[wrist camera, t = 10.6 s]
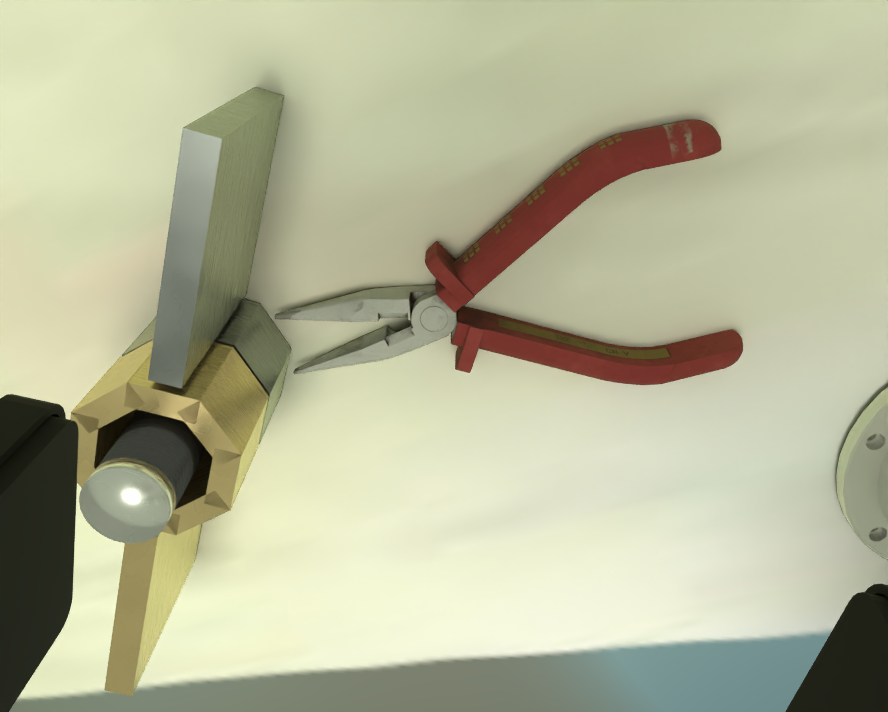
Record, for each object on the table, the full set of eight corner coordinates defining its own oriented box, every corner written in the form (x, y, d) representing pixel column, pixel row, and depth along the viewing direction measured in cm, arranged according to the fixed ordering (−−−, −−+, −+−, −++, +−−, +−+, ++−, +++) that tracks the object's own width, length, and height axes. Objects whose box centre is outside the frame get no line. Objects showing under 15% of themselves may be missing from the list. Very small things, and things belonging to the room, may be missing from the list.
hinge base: (344, 113, 33) (302, 162, 25) (274, 425, 40) (222, 546, 32) (193, 68, 33) (100, 103, 24) (147, 393, 39) (61, 508, 31)
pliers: (247, 218, 36) (232, 237, 33) (708, 104, 33) (727, 116, 31) (327, 434, 41) (318, 463, 38) (734, 350, 38) (752, 375, 36)
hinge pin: (258, 335, 38) (173, 483, 27) (247, 389, 39) (162, 552, 28) (194, 318, 37) (83, 460, 27) (185, 374, 39) (75, 531, 28)
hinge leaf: (297, 316, 37) (250, 413, 29) (240, 571, 43) (189, 708, 35) (161, 279, 36) (75, 368, 28) (125, 544, 43) (46, 677, 35)
